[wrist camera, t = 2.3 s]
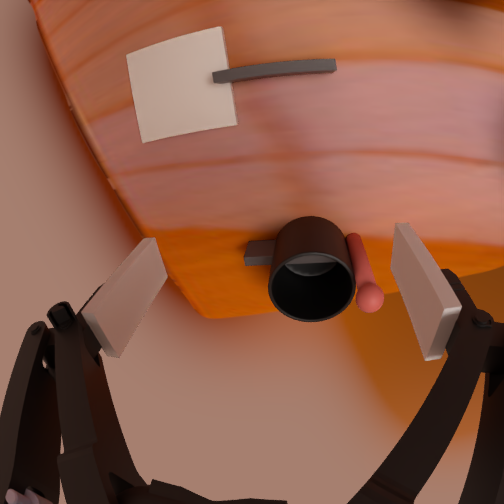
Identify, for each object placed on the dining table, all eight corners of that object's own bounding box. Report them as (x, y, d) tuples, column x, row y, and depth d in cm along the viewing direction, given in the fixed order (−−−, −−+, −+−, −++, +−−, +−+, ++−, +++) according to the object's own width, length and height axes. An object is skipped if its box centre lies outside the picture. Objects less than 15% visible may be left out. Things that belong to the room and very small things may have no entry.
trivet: (130, 55, 27) (126, 54, 26) (223, 27, 25) (220, 26, 24) (146, 141, 33) (142, 143, 32) (238, 124, 31) (236, 125, 30)
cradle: (221, 74, 28) (176, 65, 17) (356, 63, 25) (392, 45, 14) (251, 254, 39) (231, 322, 28) (363, 249, 36) (384, 317, 25)
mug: (288, 296, 43) (284, 342, 35) (266, 223, 37) (256, 262, 29) (352, 285, 40) (360, 330, 32) (339, 208, 34) (350, 243, 27)
